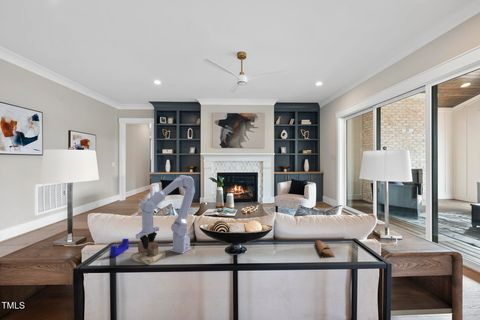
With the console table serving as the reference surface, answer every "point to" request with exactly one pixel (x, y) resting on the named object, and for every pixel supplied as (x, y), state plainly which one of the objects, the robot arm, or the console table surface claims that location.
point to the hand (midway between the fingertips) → (148, 247)
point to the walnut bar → (148, 247)
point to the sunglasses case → (323, 249)
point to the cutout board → (147, 260)
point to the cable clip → (120, 248)
